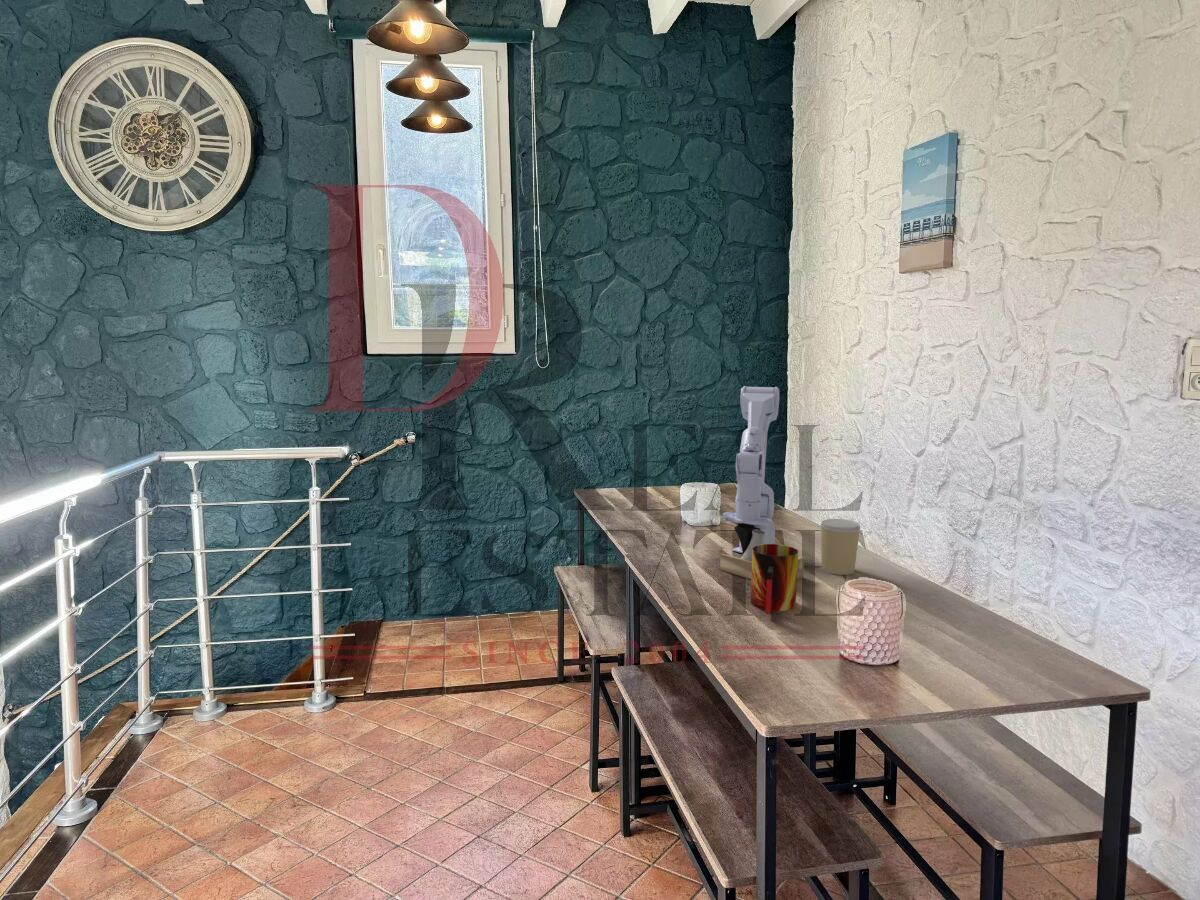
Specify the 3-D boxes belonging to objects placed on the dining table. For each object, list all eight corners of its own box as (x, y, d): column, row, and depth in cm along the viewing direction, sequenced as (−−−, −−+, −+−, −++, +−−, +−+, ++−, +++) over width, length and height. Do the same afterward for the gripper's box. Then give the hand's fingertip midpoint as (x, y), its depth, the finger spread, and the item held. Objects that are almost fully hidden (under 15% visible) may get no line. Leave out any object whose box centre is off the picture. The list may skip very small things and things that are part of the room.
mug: (765, 619, 165) (768, 562, 163) (744, 597, 179) (746, 544, 177) (810, 617, 167) (813, 561, 165) (785, 595, 180) (788, 543, 178)
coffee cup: (860, 567, 201) (862, 520, 199) (854, 578, 193) (857, 529, 191) (821, 562, 205) (824, 516, 203) (815, 572, 197) (817, 525, 195)
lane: (747, 561, 206) (747, 542, 205) (803, 577, 193) (804, 557, 192) (719, 569, 199) (720, 550, 198) (776, 586, 186) (777, 565, 185)
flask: (759, 578, 192) (768, 539, 190) (731, 569, 195) (739, 530, 193) (769, 570, 198) (777, 532, 196) (742, 561, 202) (749, 523, 199)
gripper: (715, 497, 199) (713, 550, 201) (762, 507, 188) (760, 563, 190) (733, 493, 204) (731, 545, 206) (780, 503, 193) (778, 558, 195)
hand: (746, 553), depth 198 cm, fingers closed, pressing on flask
